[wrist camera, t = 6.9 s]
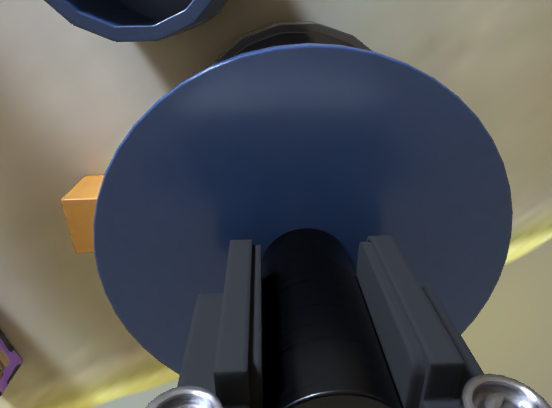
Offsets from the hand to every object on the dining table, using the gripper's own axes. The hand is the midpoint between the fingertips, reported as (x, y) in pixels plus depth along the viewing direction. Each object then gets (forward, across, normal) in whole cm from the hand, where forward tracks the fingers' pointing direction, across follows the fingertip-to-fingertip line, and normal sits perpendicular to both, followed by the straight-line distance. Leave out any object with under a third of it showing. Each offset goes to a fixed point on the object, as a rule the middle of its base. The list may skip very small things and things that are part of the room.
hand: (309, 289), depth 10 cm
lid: (+2, 0, 0) cm, 2 cm away
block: (+22, +13, +8) cm, 27 cm away
